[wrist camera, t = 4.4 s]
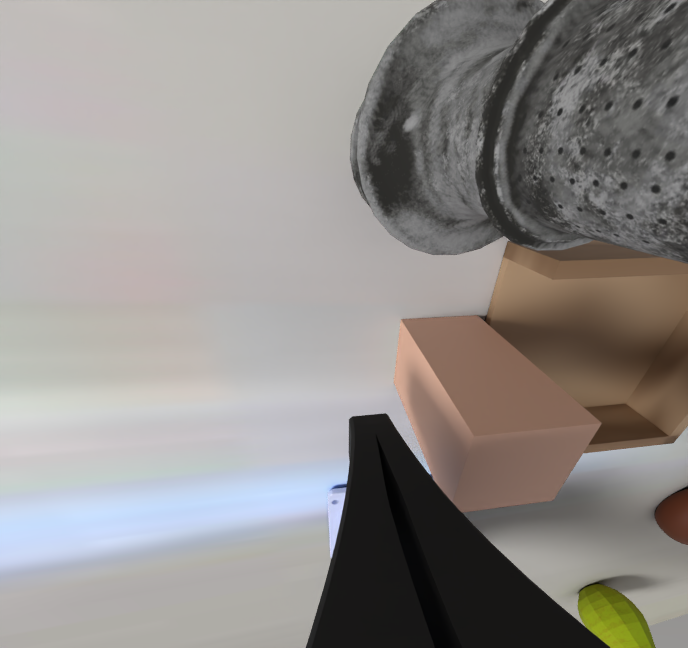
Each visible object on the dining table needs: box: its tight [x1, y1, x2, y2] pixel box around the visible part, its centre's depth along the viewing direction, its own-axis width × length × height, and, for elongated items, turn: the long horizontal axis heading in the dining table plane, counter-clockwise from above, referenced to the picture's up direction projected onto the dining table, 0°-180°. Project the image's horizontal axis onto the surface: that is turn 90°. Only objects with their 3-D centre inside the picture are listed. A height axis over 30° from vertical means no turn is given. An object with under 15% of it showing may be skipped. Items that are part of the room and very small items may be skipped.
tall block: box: [394, 315, 602, 513], centre depth 12 cm, size 4×4×7 cm
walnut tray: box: [485, 240, 688, 453], centre depth 15 cm, size 11×12×3 cm
